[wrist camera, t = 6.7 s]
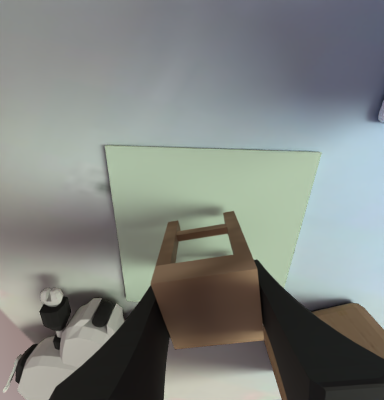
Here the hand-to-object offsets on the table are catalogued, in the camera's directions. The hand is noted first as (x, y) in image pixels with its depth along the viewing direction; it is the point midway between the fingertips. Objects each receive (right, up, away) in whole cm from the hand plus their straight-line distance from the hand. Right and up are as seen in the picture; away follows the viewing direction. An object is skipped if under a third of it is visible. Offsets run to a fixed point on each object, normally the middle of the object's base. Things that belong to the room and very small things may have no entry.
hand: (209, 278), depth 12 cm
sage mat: (0, +2, +4) cm, 5 cm away
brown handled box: (0, +1, +3) cm, 3 cm away
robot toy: (-12, -10, +10) cm, 19 cm away
